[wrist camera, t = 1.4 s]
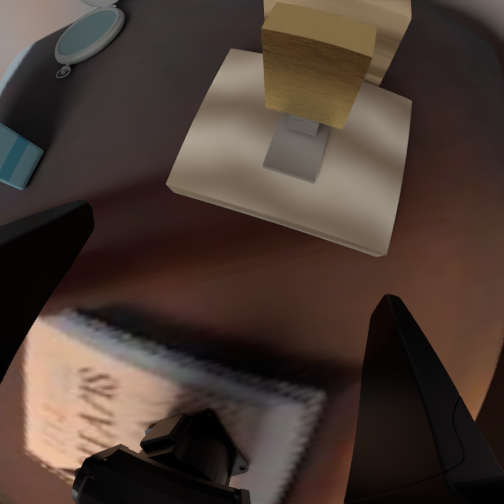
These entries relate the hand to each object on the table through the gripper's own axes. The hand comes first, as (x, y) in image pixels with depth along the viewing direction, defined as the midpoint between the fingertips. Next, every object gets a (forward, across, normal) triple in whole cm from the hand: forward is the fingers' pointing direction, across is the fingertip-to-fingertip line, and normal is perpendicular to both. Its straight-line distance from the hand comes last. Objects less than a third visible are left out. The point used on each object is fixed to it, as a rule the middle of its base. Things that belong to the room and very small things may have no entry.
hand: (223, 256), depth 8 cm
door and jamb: (+19, -1, -1) cm, 19 cm away
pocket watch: (+25, +28, -6) cm, 38 cm away
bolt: (+17, -1, -3) cm, 17 cm away
